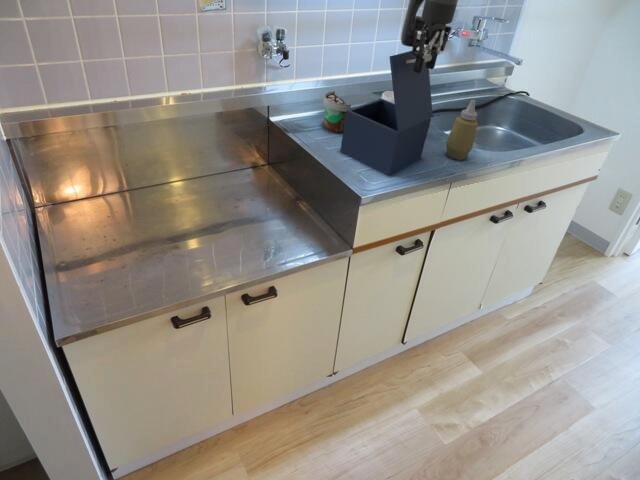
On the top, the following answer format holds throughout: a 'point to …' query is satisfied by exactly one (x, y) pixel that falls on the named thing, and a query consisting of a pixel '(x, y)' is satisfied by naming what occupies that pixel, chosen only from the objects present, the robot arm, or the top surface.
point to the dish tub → (381, 137)
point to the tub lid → (410, 90)
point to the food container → (334, 112)
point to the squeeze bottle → (462, 133)
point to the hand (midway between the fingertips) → (423, 70)
